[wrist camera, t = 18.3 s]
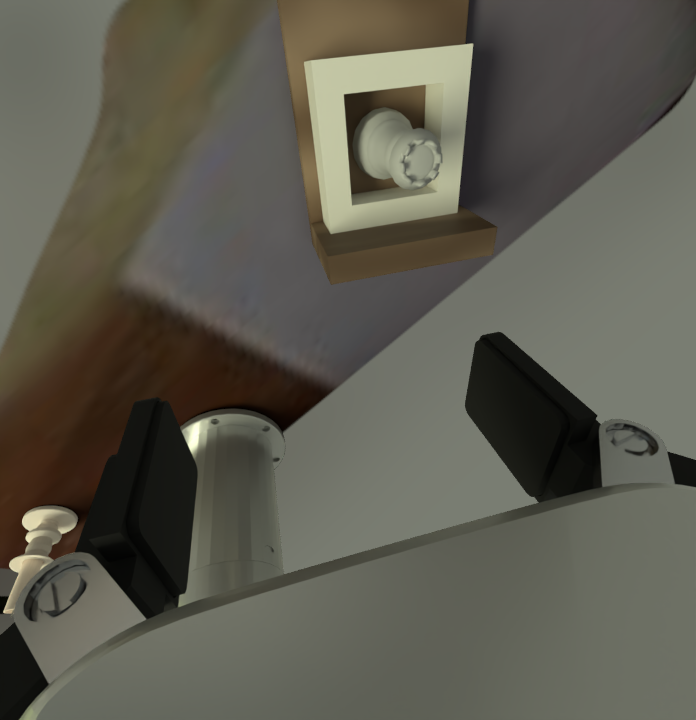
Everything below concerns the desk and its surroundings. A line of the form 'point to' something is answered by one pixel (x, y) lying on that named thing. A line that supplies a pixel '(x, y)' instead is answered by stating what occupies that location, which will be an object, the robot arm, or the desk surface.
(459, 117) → the socket block
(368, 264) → the wooden bookend
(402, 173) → the rook chess piece
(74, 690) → the robot arm
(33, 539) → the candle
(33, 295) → the desk surface
